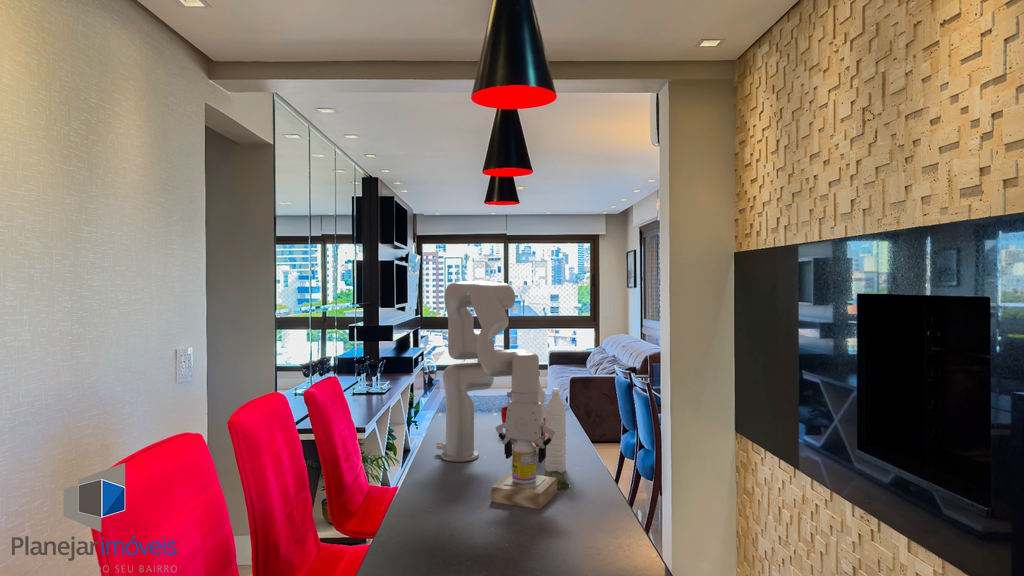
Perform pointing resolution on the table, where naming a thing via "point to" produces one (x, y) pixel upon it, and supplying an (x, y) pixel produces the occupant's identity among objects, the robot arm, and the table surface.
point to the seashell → (558, 480)
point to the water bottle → (556, 422)
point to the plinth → (524, 491)
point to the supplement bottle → (524, 462)
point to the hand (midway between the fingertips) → (525, 459)
